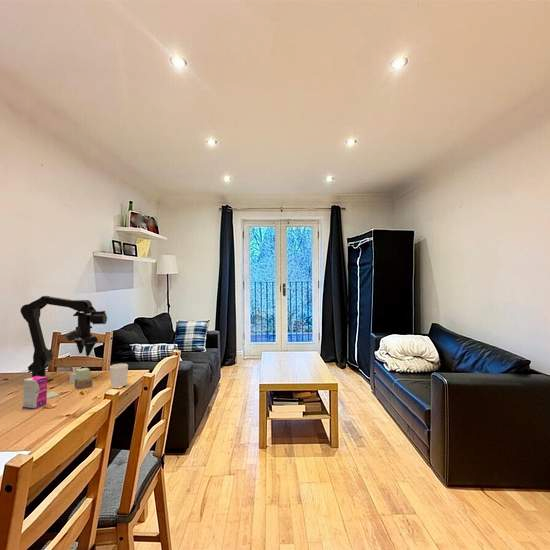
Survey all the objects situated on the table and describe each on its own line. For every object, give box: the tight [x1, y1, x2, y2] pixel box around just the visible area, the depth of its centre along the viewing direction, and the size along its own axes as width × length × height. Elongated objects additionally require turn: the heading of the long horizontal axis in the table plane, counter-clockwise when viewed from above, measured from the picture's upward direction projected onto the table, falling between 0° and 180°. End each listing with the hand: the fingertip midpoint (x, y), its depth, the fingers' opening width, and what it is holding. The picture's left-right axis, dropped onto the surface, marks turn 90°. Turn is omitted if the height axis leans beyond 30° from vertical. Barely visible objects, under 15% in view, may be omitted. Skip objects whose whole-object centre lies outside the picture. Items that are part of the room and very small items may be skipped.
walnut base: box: [74, 377, 93, 391], centre depth 158 cm, size 6×6×4 cm
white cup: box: [109, 363, 129, 387], centre depth 158 cm, size 8×8×10 cm
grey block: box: [69, 371, 76, 384], centre depth 165 cm, size 4×4×4 cm
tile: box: [47, 391, 61, 400], centre depth 145 cm, size 7×7×1 cm
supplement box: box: [22, 376, 48, 410], centre depth 134 cm, size 6×6×12 cm
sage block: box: [75, 367, 91, 381], centre depth 158 cm, size 4×4×4 cm
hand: (84, 354), depth 170 cm, fingers open, 9 cm apart
